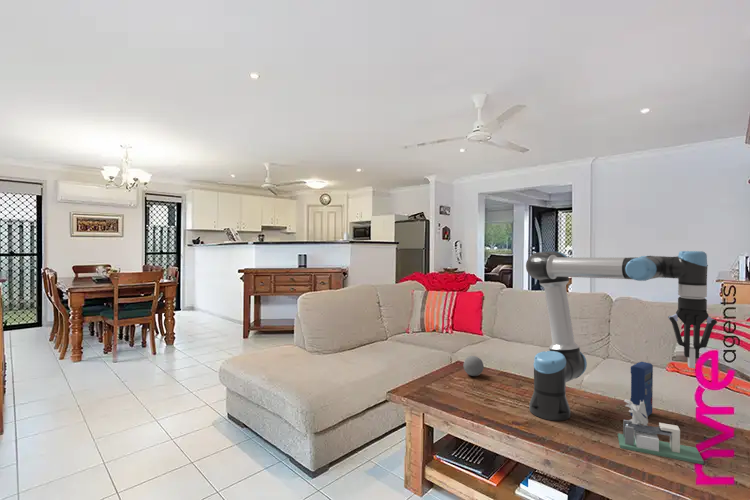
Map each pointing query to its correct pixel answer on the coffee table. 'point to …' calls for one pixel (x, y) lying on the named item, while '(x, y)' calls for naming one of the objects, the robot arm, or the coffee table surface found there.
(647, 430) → the strap
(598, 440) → the coffee table surface
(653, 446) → the board
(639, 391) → the electronic device
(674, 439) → the bracket
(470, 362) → the decorative ball
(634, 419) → the figurine
